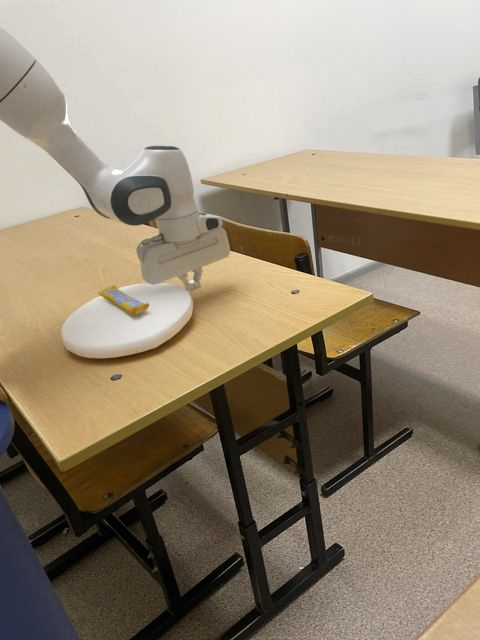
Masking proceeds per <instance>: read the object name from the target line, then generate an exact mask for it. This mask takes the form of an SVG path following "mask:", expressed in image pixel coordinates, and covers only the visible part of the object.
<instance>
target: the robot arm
mask: <svg viewBox="0 0 480 640" xmlns="http://www.w3.org/2000/svg"><path fill="white" fill-rule="evenodd" d="M0 121H1V122H2V123H3V124H5V125H6V126H8V127H9V129H12V130H13V131H14V132H15V133H17V134H19V135H20V136H22V137H23V138H24V139H26V140H28V141H30V143H33V144H34V145H36V146H37V147H39V148H40V149H42V150H43V151H45V152H46V153H47V154H48V155H49V156H50V157H51V158H52V159H53V160H54V161H56V163H58V165H60V166H61V167H62V168H63V169H64V170H65V171H66V172H67V173H68V174H69V175H70V176H71V177H72V178H73V179H74V180H75V181H76V182H77V183H78V184H79V186H80V187H81V188H82V190H83V193H84V194H85V196H86V198H87V201H88V203H89V204H90V206H91V208H92V209H93V210H94V212H96V213H97V214H98V215H99V216H101V217H103V218H105V219H109V220H114V221H115V222H119V223H122V224H124V225H127V226H142V225H144V224H147V223H149V222H151V221H153V220H155V223H156V226H157V229H158V230H157V231H158V234H155V235H153V236H151V237H148V238H144V239H141V240H140V243H138V244H137V246H136V249H135V250H136V254H137V258H138V260H139V263H140V264H139V265H140V271H141V275H142V276H141V277H142V279H143V281H144V282H145V283H149V284H152V285H156V284H159V283H165V282H167V281H169V280H172V279H174V278H178V279H179V280H180V281H181V282H182V283H183V284H184V288H185V289H186V290H187V291H188V292H189V293H191V292H193V291H195V290H197V289H200V288H201V287H202V285H201V278H202V275H203V268H204V267H206V266H209V265H211V264H214V263H216V262H219V261H222V260H225V259H226V258H228V257H230V254H231V246H230V241H229V238H228V233H227V231H226V230H225V228H223V223H224V222H223V218H222V217H221V216H218V215H216V214H215V215H214V214H210V213H203V212H199V208H198V205H197V203H196V201H195V197H194V191H195V189H194V183H193V178H192V174H191V170H190V167H189V164H188V160H187V158H186V155H185V154H184V152H183V151H182V149H180V148H179V147H176V146H172V145H150V146H146V147H144V148H143V149H142V151H141V153H140V155H138V157H137V158H136V159H135V161H133V162H132V163H131V164H130V165H129V166H128V167H126V168H125V169H123V170H122V169H118V168H116V167H113V166H111V165H108V164H107V163H105V162H104V161H103V160H102V159H101V158H100V157H99V156H98V155H97V154H96V153H95V152H94V151H93V150H92V149H91V148H90V146H88V145H87V143H85V142H84V140H83V139H82V138H81V137H80V136H79V135H78V134H77V133H76V131H75V130H74V128H73V127H72V126H71V124H70V121H69V117H68V102H67V97H66V95H65V94H64V92H63V91H62V89H61V88H60V86H59V85H58V83H57V82H56V81H55V79H54V77H53V76H52V75H51V74H50V73H49V72H48V71H47V68H45V67H44V66H43V65H42V64H41V62H39V60H37V58H36V57H34V56H33V54H31V52H29V51H28V49H26V48H25V47H24V46H23V45H22V43H20V42H19V41H18V40H16V39H15V37H13V36H12V35H11V34H10V33H9V32H7V31H6V30H5V29H4V28H2V27H1V26H0ZM190 272H193V277H192V279H191V280H188V279H187V278H189V274H188V273H190Z"/></svg>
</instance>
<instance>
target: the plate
mask: <svg viewBox="0 0 480 640" xmlns="http://www.w3.org/2000/svg"><path fill="white" fill-rule="evenodd" d="M117 289H119V290H120V291H122V292H123V293H125V294H127V295H128V296H130V297H132V298H134V299H136V300H138V301H140V302H142V303H144V304H146V303H148V304H149V307H148V309H147V310H145V311H143V312H141V313H139V314H137V315H133V314H131V313H129V312H127V311H125V310H123V309H121V308H120V307H118V306H116V305H114V304H113V303H111V302H110V301H108V300H107V299H105V298H103V296H100V295H99V296H97V297H94V298H93V299H91V300H89V301H88V302H86V303H85V304H83V305H81V306H80V307H79V308H77V309H76V310H74V311H73V312H72V313H71V314H70V315H68V317H67V318H66V319H65V322H63V325H62V326H61V330H60V337H61V341H62V343H63V347H64V348H65V350H67V351H68V352H71V353H73V354H75V355H76V356H78V357H82V358H83V357H84V358H88V359H110V358H120V357H125V356H131V355H135V354H140V353H144V352H147V351H149V350H154V349H156V348H158V347H159V346H161V345H163V344H164V343H166V342H168V340H170V339H171V338H173V337H174V336H175V335H176V334H178V333H179V332H180V331H181V330H182V329H183V328H184V327H185V325H187V323H188V322H189V321H190V320H191V317H192V315H193V310H194V300H193V298H192V295H191V294H190V292H188V291H187V290H186V289H185V287H183V286H180V285H178V284H174V283H168V282H161V283H159V284H156V285H152V284H149V283H148V282H145V283H144V282H143V283H134V284H130V285H126V286H121V287H119V288H118V287H117Z"/></svg>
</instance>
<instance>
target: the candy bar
mask: <svg viewBox="0 0 480 640" xmlns="http://www.w3.org/2000/svg"><path fill="white" fill-rule="evenodd" d="M96 294H98V295H99V296H103V298H105V299H107V300H108V301H110V302H111V303H113V304H114V305H116V306H118V307H120V308H121V309H123V310H125V311H127V312H129V313H131V314H133V315H137V314H139V313H141V312H143V311H145V310H147V309H148V307H149V304H148V303H146V304H144V303H142V302H140V301H138V300H136V299H134V298H132V297H130V296H128V295H127V294H125V293H123V292H122V291H120V290H119V289H118V286H116V285H111V286H108V287H106V288H104V289H101V290H99V291H97V293H96Z"/></svg>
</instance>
